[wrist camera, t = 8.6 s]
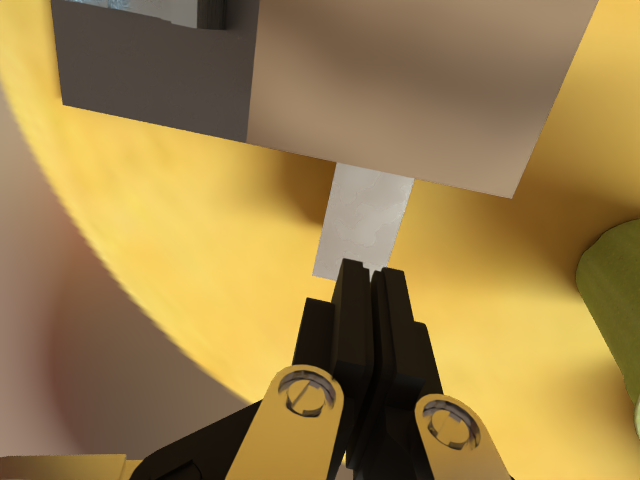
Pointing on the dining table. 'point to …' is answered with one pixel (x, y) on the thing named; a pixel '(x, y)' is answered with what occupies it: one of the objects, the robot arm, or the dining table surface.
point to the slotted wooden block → (413, 83)
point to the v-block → (160, 61)
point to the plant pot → (616, 299)
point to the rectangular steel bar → (361, 219)
